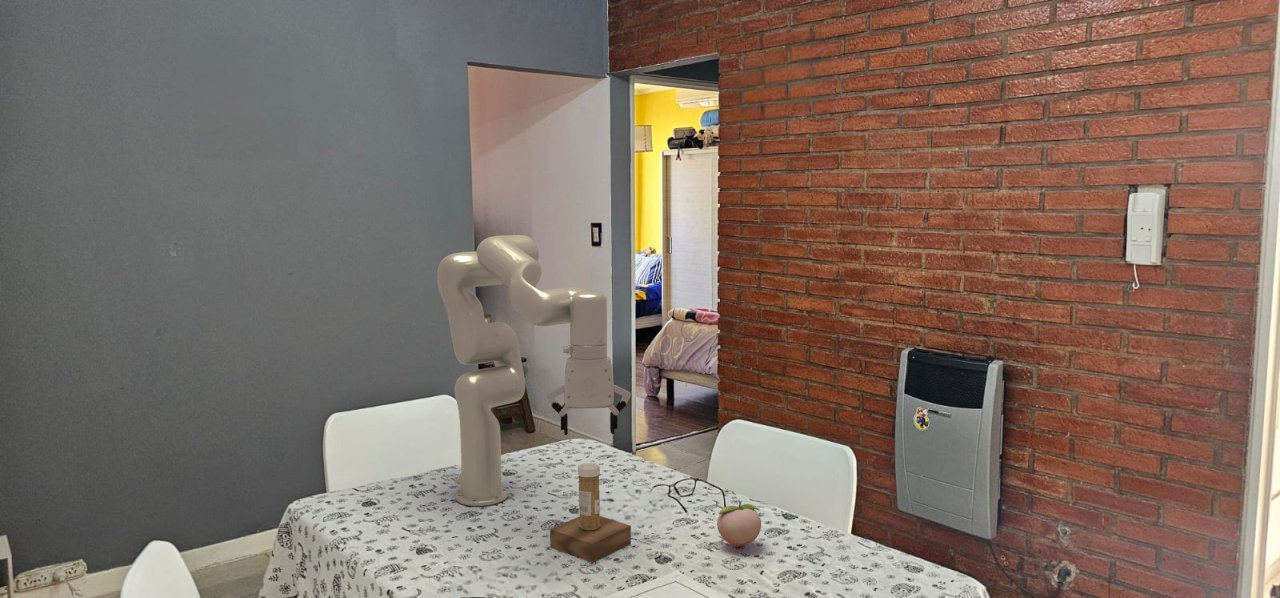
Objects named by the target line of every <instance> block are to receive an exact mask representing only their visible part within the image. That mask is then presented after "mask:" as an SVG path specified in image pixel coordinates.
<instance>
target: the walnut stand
mask: <svg viewBox="0 0 1280 598" xmlns="http://www.w3.org/2000/svg"><path fill="white" fill-rule="evenodd" d="M579 524H580V516H578V517H576V518H572V519H571V520H568V521H566V522H563V523H561V524H559V525H556V526H554V527H551V528H549V540H550V543H549V544H550V548H551V549H554V550H557V551H559V552H562V553H565V554H567V555H571V556H573V557H576V558H578V559H581V560H583V561H586V562H589V563H590V564H591V563H592V564H593V563H595V562H598V561H599V560H601V559H603V558H605V557H608V556H610V555H611V554H613V553H615V552H617V551H619V550H622V549H623V548H625V547H628V546H630V545H631V544H632V526H631V525H629V524H626V523H623V522H621V521H620V522H619V521H617V520H614V519H611V518H608V517H605V516H601V515H600V527H599V528H598V529H596V530H591V531H587V530H583V529H581V528H580V527H579Z"/></svg>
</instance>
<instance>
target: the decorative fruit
mask: <svg viewBox="0 0 1280 598" xmlns="http://www.w3.org/2000/svg"><path fill="white" fill-rule="evenodd" d="M738 503H739V504H738V505H737V506H736V505H735V506H734V505H727V506H726V507H723V508H722V509H721V510H720V511H719V512H718V513H717V515H718V518H717V521H716V526H717V530H718V533H719V534H720V536H721V538H722V539H723V541H725V542H726V543H728V544H729V545H731V546H734V547H736V548H739V547H740V546H741V547H742V546H746V545H749V544H751V543H752V542H754V541H755V540H756V539H757V538H758V537H759V534H760V532H761V528H762V520H761V517H760V515H759V514H758V512H757V511H760V509H759V507H758V506H756V505H754V504H750V503H746V504H745V503H744V504H742V502H741V501H738ZM756 510H757V511H756ZM741 547H740V548H741Z"/></svg>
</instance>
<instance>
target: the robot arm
mask: <svg viewBox="0 0 1280 598" xmlns="http://www.w3.org/2000/svg"><path fill="white" fill-rule="evenodd" d="M539 254H540V253H539V248H538V246H537V244H536V242H535V241H534V240H533V238H531V237H529V236H527V235H524V234H510V235H509V234H508V235H507V234H506V235H503V234H502V235H494V236H489V237H486V238H485V239H483V240H482V241H481V242H480V243H479V244H478V246H477V248H476V250H475V251H461V252H456V253H455V252H454V253H452V254H448V255H446V256H445V257H444V258H443V259H442V260H441V261H440V262H439V264H438V267H437V272H436V281H437V282H436V283H437V288H438V292H439V294H440V296H441V299H442V302H443V304H444V307H445V309H446V313H447V318H448V324H449V329H450V335H451V341H452V346H453V352H454V355H455V358H456V360H457V361H458V362H459V363H460V364H461V365H463V366H464V365H466V366H470V365H471V366H473V365H479V364H486V363H487V364H488V363H492V362H493V364H494V367H485V368H481V369H475V370H471V371H468V372H464V373H463V374H462V375H460V376H459V377H458V378H457V379H456V381H455V384H454V395H455V396H454V397H455V400H456V406H457V409H458V416H459V417H458V418H459V429H460V432H459V436H460V465H461V466H460V467H461V469H460V470H461V473H460V474H459V475H458V477H456V478H454V483H456V484H457V485H459V490H457V491H456V493H455V500H456V502H457V503H459V504H461V505H464V506H469V507H471V506H472V507H484V506H491V505H492V506H493V505H495V504H499V503H502V502H503V501H505V500H507V498H508V497H509V490H508V489H507V487H504V486H503V485H502V481H503V480H502V452H501V451H502V448H501V447H502V445H501V444H502V443H501V426H500V425H501V424H500V422H499V419H497V417H496V416H495V414H494V413H493V411H492V408H496V407H500V406H505V405H509V404H512V403H516V402H519V401H520V400H521V399H522V398H523V397H524V394H525V392H526V379H525V372H524V367H523V363H522V355H521V351H520V345H519V341H518V336H517V334H516V332H515V330H513V328H512V326H510V325H509V324H508V323H506V322H503V321H502V322H501V321H494V322H488V323H487V321H486V319H485V314H484V307H483V305H482V303H481V301H480V300H479V298H478V296H476V294H474V293H473V291H471V290H470V288H477V287H489V286H499V285H503V284H504V285H505V286H506V287H508V291H507V292H508V299H509V301H510V304H511V306H512V309H513V310H514V311H515V312H516V313H517V314H518V315H520V316H521V317H522V318H523V319H525V320H526V321H527V322H529V324H533V325H535V326H537V327H550V326H557V325H565V324H569V327H570V328H569V329H570V330H569V331H570V332H569V335H570V336H569V339H570V340H569V341H570V343H569V344H568V345H566V346H563V347H562V348H563V350H562V351H563V354H567V355H569V357H567V359H566V363H565V366H564V367H565V368H564V369H565V370H564V382H563V385H561V386H559V387H558V388H556V389H554V390H552V391H550V392H548V393H546V399H547V400H548V402H549V404H550V406H551V407H552V409H553V410H554V411H555V412H556V413H558V414H559V416H560V431H564V432H563V433H564V435H563V436H568V434H569V433H568V432H569V431H568V427H569V426H568V418H569V417H568V412H569V411H570V409H604V408H608V410H609V411H610V412H609V431H610V434H611V435H615V430H618V415H619V414H620V412H621V411H622V410H623V409H625V408H626V406H627V403H628V402H629V400H630V398H631V396H632V394H631V392H630V391H628V390H627V389H624V388H622V387H620V386H618V385H616V384H614V372H613V364H612V360H611V358H610V356H608V334H607V333H608V324H607V323H608V317H607V316H608V308H607V304H608V300H607V297H606V295H605V294H604V293H603V292H600V291H588V290H586V289H584V288H582V287H581V288H580V287H577V286H575V287H574V286H572V287H571V286H570V287H557V288H549V289H548V288H547V289H541V290H540V289H538V288H536V287H537V285H538V284H539V282H540V280H541V277H542V268H541V267H542V266H541V265H540V262H539ZM615 393H616V394H618V395H620V396H621V397H622V398H621V399H620V400H619V402H618V403H617V404H616V403H615V402H614V399H615ZM562 394H563V399H564V403H563V404H562V405H561V404H560V403H559V402H558V401H557V400H556V398H557V397H559V396H561V395H562Z"/></svg>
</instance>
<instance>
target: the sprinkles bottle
mask: <svg viewBox="0 0 1280 598" xmlns="http://www.w3.org/2000/svg"><path fill="white" fill-rule="evenodd" d="M577 475H578V506H579V507H578V510H579V511H578V512H579V513H578V514H579V517H580V524H579V527H580V528H581V529H583V530H587V531H591V530H596V529H598V528H599V527H600V516H601V515H600V514H601V513H600V512H601V506H600V505H601V501H600V497H601V496H600V478H599V477H600V475H601V467H600V465H599V464H598V463H596V462H583V463H580V464H579V465H578V467H577Z"/></svg>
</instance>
